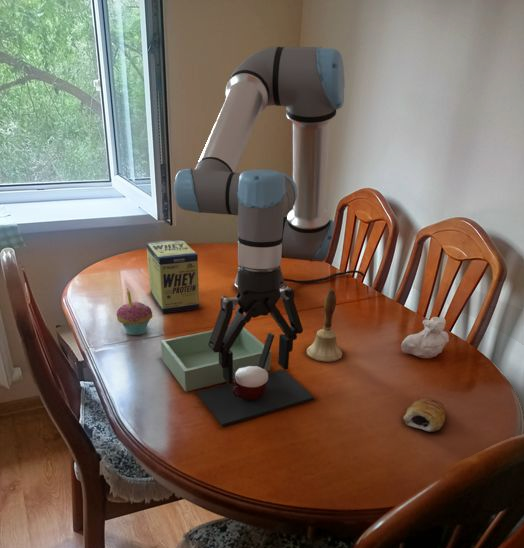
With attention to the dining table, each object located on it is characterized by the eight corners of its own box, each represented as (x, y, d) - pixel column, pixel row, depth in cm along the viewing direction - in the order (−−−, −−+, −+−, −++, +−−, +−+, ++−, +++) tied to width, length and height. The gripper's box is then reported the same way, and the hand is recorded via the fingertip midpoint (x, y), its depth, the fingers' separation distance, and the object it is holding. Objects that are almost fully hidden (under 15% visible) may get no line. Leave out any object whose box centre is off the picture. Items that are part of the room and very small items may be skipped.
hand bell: (345, 348, 117) (352, 285, 110) (338, 364, 111) (346, 299, 103) (311, 342, 120) (316, 280, 112) (302, 358, 113) (307, 293, 105)
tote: (240, 342, 119) (240, 324, 116) (270, 370, 108) (271, 351, 105) (162, 359, 110) (160, 340, 108) (185, 391, 99) (184, 371, 97)
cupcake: (144, 340, 118) (140, 293, 112) (112, 336, 119) (106, 289, 114) (158, 325, 125) (155, 281, 120) (127, 321, 127) (122, 277, 121)
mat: (283, 371, 107) (283, 369, 107) (313, 399, 98) (314, 397, 98) (197, 393, 98) (197, 391, 98) (222, 426, 89) (222, 424, 89)
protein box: (162, 314, 132) (158, 258, 124) (149, 293, 144) (145, 241, 137) (200, 309, 135) (198, 254, 128) (184, 289, 148) (181, 238, 140)
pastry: (417, 401, 99) (421, 385, 97) (451, 413, 95) (456, 397, 93) (400, 424, 92) (404, 407, 90) (436, 438, 88) (441, 421, 87)
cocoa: (234, 408, 94) (235, 352, 88) (225, 390, 99) (224, 337, 93) (280, 399, 97) (283, 345, 91) (268, 383, 102) (271, 330, 96)
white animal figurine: (400, 366, 115) (425, 346, 105) (390, 337, 118) (413, 315, 108) (444, 360, 119) (471, 340, 109) (433, 332, 121) (459, 310, 111)
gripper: (305, 251, 93) (297, 352, 104) (186, 267, 83) (191, 377, 93) (328, 263, 88) (317, 368, 98) (203, 282, 77) (207, 397, 88)
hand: (256, 373), depth 96 cm, fingers open, 11 cm apart
